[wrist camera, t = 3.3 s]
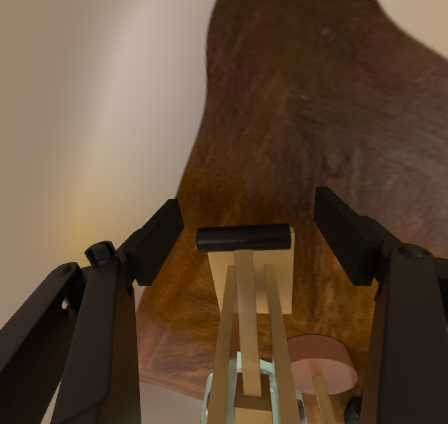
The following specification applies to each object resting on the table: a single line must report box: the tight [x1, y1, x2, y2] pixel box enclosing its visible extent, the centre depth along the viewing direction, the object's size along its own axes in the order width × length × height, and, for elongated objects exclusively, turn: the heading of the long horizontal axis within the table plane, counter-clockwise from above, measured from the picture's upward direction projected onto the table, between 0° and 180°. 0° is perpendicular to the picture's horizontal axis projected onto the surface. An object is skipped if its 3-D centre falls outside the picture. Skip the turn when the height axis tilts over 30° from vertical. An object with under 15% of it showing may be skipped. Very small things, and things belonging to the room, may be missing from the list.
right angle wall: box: [200, 351, 307, 424], centre depth 31 cm, size 12×12×8 cm
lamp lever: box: [196, 223, 292, 424], centre depth 12 cm, size 13×6×2 cm, turn 7°
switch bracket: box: [206, 227, 307, 424], centre depth 16 cm, size 12×9×14 cm
